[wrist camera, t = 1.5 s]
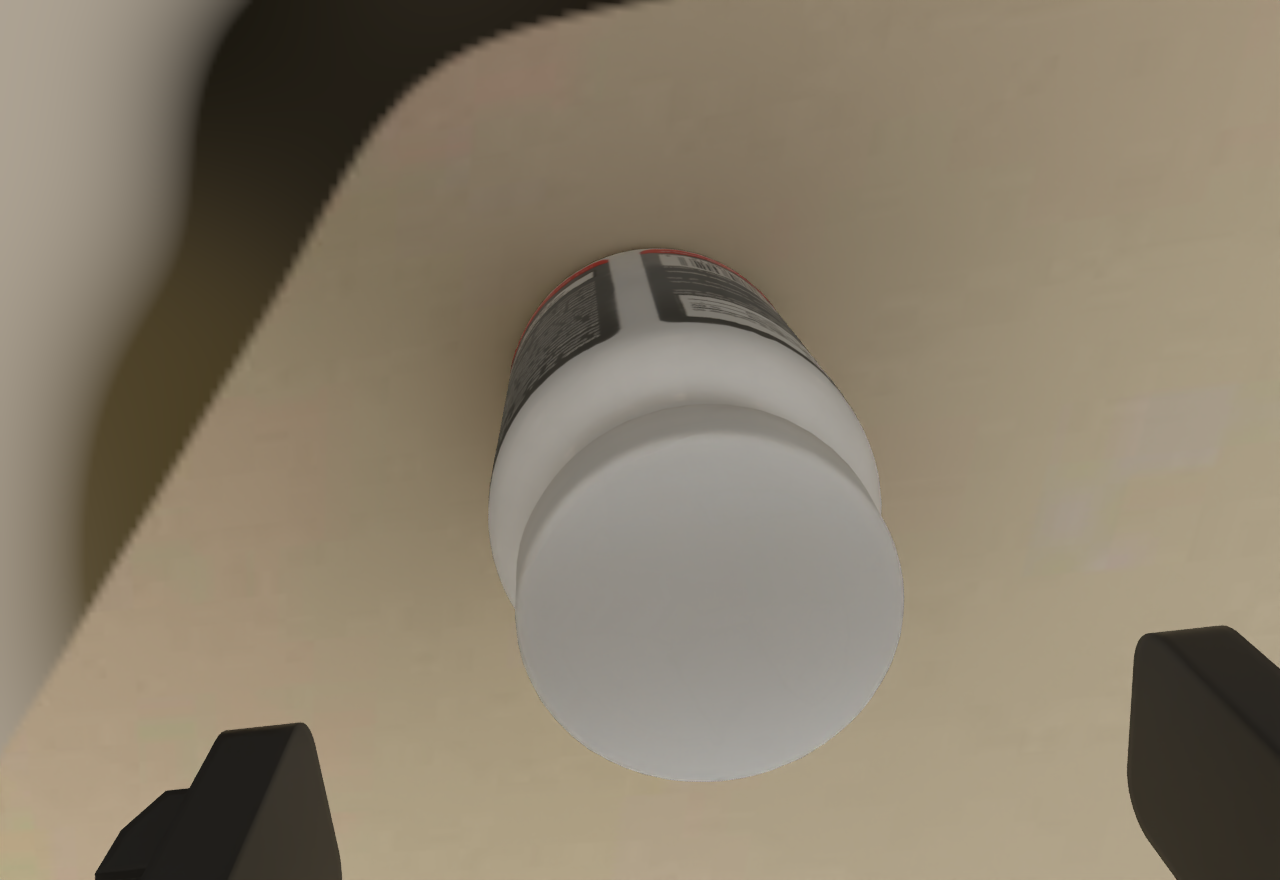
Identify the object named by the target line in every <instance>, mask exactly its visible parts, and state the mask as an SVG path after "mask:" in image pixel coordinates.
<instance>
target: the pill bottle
mask: <svg viewBox="0 0 1280 880" xmlns="http://www.w3.org/2000/svg"><path fill="white" fill-rule="evenodd" d="M881 508H882V502H881V492H880V481H879V475H878V471H877V466H876V462H875V459H874V456H873V452H872V449H871V447H870V444H869V441H868V439H867V437H866V434H865V432H864V430H863V428H862V426H861V424H860V422H859V420H858V419H857V417H856V415H855V413H854V411H853V410H852V408H851V407H850V405H849V404H848V402H847V401H846V399H845V398H844V396H843V395H842V393H841V392H840V391H839V389H838V388H837V387H836V385H835V384H834V383H833V382H832V380H831V379H830V378H829V377H828V375H827V374H826V373H825V372H824V371H823V370H822V368H821V367H820V366H819V364H818V363H817V362H816V360H815V359H814V358H813V357H812V355H811V354H810V353H809V352H808V350H807V349H806V348H805V346H804V345H803V344H802V343H801V341H800V340H799V339H798V338H797V336H796V335H795V334H794V333H793V331H792V330H791V329H790V328H789V326H788V325H787V324H786V323H785V321H784V320H783V319H782V318H781V316H780V315H779V314H778V313H777V311H776V310H775V308H774V307H773V306H772V304H771V303H770V302H769V301H768V299H767V298H766V297H765V296H764V295H763V294H762V293H761V292H760V291H759V290H758V289H757V288H756V287H754V286H753V285H752V284H751V283H750V282H749V281H747V280H746V279H745V278H744V277H742V276H741V275H739V274H738V273H737V272H735V271H734V270H732V269H730V268H729V267H727V266H725V265H724V264H721V263H719V262H717V261H715V260H713V259H710V258H708V257H705V256H702V255H699V254H696V253H692V252H688V251H683V250H675V249H662V248H651V249H637V250H632V251H626V252H622V253H617V254H614V255H611V256H608V257H605V258H603V259H600V260H597V261H595V262H593V263H591V264H589V265H587V266H585V267H584V268H582V269H580V270H579V271H577V272H575V273H574V274H572V275H571V276H569V277H568V278H566V279H565V280H564V281H563V282H562V283H561V284H559V285H558V286H557V287H556V288H555V289H554V290H553V291H552V292H551V293H550V294H549V295H548V296H547V297H546V298H545V300H544V301H543V302H542V303H541V304H540V306H539V307H538V308H537V310H536V311H535V313H534V314H533V316H532V317H531V319H530V320H529V322H528V324H527V326H526V328H525V330H524V332H523V334H522V336H521V339H520V341H519V344H518V347H517V349H516V351H515V354H514V358H513V362H512V365H511V373H510V379H509V385H508V391H507V396H506V401H505V406H504V412H503V417H502V423H501V428H500V434H499V439H498V444H497V449H496V454H495V459H494V465H493V471H492V477H491V482H490V492H489V514H488V525H489V536H490V544H491V549H492V554H493V559H494V562H495V565H496V568H497V571H498V575H499V578H500V580H501V583H502V585H503V588H504V590H505V592H506V594H507V596H508V598H509V600H510V602H511V603H512V605H513V607H514V608H515V620H516V630H517V638H518V645H519V649H520V653H521V657H522V661H523V664H524V667H525V669H526V671H527V674H528V676H529V678H530V681H531V683H532V685H533V687H534V688H535V690H536V692H537V694H538V696H539V698H540V700H541V701H542V703H543V704H544V705H545V707H546V708H547V709H548V711H549V712H550V713H551V714H552V716H553V717H554V718H555V720H556V721H557V722H558V723H559V724H561V725H562V726H563V727H564V728H565V729H566V730H567V731H568V732H569V733H570V734H571V735H572V736H573V737H574V738H575V739H576V740H578V741H579V742H580V743H581V744H583V745H584V746H585V747H587V748H588V749H589V750H591V751H592V752H594V753H596V754H598V755H600V756H602V757H604V758H605V759H607V760H609V761H611V762H614V763H616V764H618V765H620V766H622V767H624V768H627V769H630V770H633V771H636V772H639V773H642V774H645V775H650V776H654V777H659V778H663V779H668V780H677V781H690V782H714V781H726V780H733V779H740V778H745V777H750V776H754V775H758V774H761V773H765V772H768V771H771V770H774V769H776V768H778V767H781V766H783V765H786V764H788V763H791V762H793V761H796V760H798V759H800V758H802V757H804V756H806V755H807V754H809V753H810V752H812V751H814V750H815V749H817V748H818V747H820V746H821V745H823V744H824V743H826V742H827V741H828V740H830V739H831V738H832V737H834V736H835V735H836V734H838V733H839V732H840V731H841V730H842V729H844V728H845V727H846V726H847V725H848V724H849V723H850V722H851V721H852V720H853V719H854V718H855V717H856V716H857V715H858V714H859V713H860V712H861V711H862V709H863V708H864V707H865V706H866V704H867V703H868V702H869V701H870V699H871V698H872V696H873V695H874V693H875V691H876V690H877V688H878V687H879V685H880V684H881V682H882V680H883V679H884V677H885V675H886V673H887V671H888V669H889V667H890V664H891V662H892V660H893V657H894V654H895V651H896V648H897V645H898V641H899V638H900V634H901V627H902V620H903V613H904V584H903V576H902V571H901V565H900V561H899V558H898V554H897V551H896V547H895V544H894V541H893V539H892V536H891V534H890V532H889V529H888V527H887V525H886V524H885V522H884V520H883V518H882V516H881Z"/></svg>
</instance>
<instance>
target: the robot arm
mask: <svg viewBox="0 0 1280 880" xmlns="http://www.w3.org/2000/svg"><path fill="white" fill-rule="evenodd" d="M1127 778H1128V787H1129V793H1130V798H1131V802H1132V805H1133V809H1134V812H1135V815H1136V818H1137V820H1138V822H1139V825H1140V827H1141V829H1142V831H1143V833H1144V835H1145V836H1146V838H1147V839H1148V841H1149V842H1150V843H1151V845H1152V846H1153V848H1154V849H1155V850H1156V852H1157V853H1158V854H1159V856H1160V857H1161V859H1162V860H1163V861H1164V863H1165V864H1166V865H1167V867H1168V868H1169V870H1170V871H1171V872H1172V874H1173V875H1174V876H1175V878H1176V879H1177V880H1280V669H1279V668H1278V667H1277V666H1276V665H1275V664H1274V663H1272V662H1271V661H1270V660H1269V659H1268V658H1267V657H1266V656H1264V655H1263V654H1262V653H1261V652H1260V651H1259V650H1258V649H1256V648H1255V647H1254V646H1253V645H1252V644H1251V643H1249V642H1248V641H1247V640H1246V639H1245V638H1244V637H1243V636H1241V635H1240V634H1239V633H1238V632H1237V631H1235V630H1234V629H1232V628H1230V627H1228V626H1212V627H1203V628H1194V629H1184V630H1175V631H1166V632H1157V633H1148V634H1145V635H1143V636H1142V637H1141V638H1140V640H1139V641H1138V644H1137V646H1136V650H1135V655H1134V666H1133V682H1132V698H1131V714H1130V730H1129V747H1128V763H1127ZM95 880H342V871H341V861H340V855H339V850H338V845H337V841H336V836H335V832H334V827H333V823H332V818H331V814H330V809H329V805H328V800H327V796H326V791H325V787H324V782H323V778H322V773H321V769H320V764H319V760H318V755H317V751H316V746H315V743H314V739H313V736H312V733H311V731H310V729H309V728H308V726H307V725H306V724H304V723H291V724H282V725H273V726H263V727H254V728H245V729H235V730H226V731H224V732H222V733H221V734H220V735H219V736H218V737H217V739H216V741H215V742H214V744H213V746H212V748H211V750H210V752H209V753H208V755H207V757H206V759H205V761H204V763H203V764H202V766H201V768H200V770H199V772H198V774H197V775H196V777H195V779H194V781H193V783H192V785H191V786H190V788H188V789H179V790H169V791H165V792H164V793H163V794H162V795H161V796H160V797H158V798H157V799H156V800H155V801H154V802H153V803H152V804H150V805H149V806H148V807H147V808H146V809H145V810H144V811H142V812H141V813H140V814H139V815H138V816H137V817H136V818H135V819H133V820H132V821H131V822H130V823H129V824H128V825H127V826H125V827H124V828H123V829H122V830H121V831H120V833H119V835H118V836H117V838H116V840H115V841H114V843H113V845H112V846H111V848H110V850H109V851H108V853H107V855H106V856H105V858H104V860H103V861H102V863H101V865H100V866H99V868H98V870H97V871H96V873H95Z"/></svg>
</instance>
